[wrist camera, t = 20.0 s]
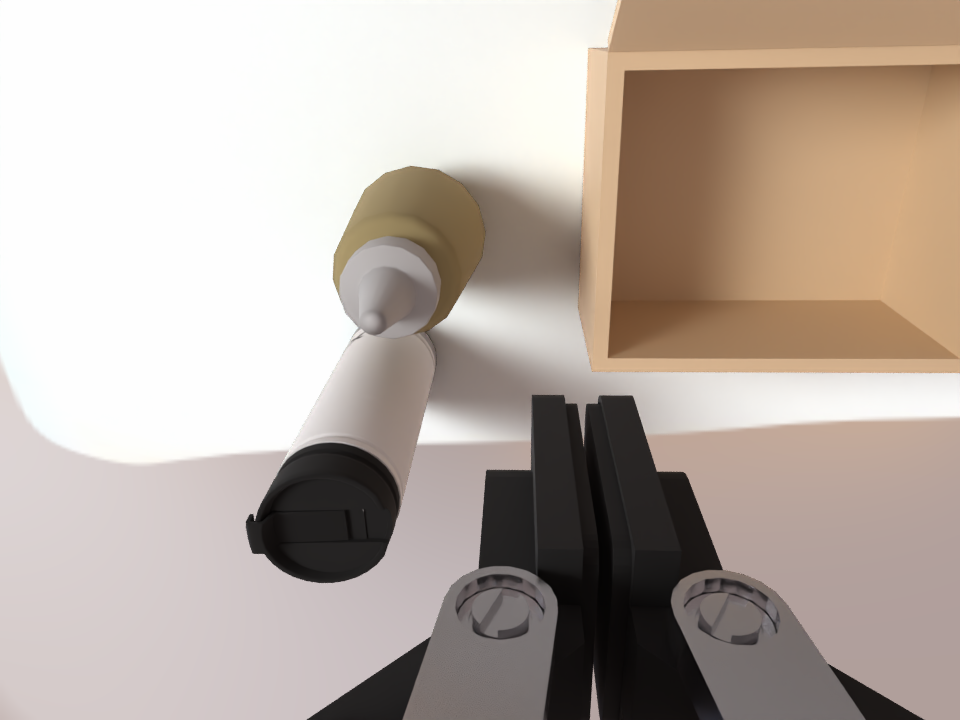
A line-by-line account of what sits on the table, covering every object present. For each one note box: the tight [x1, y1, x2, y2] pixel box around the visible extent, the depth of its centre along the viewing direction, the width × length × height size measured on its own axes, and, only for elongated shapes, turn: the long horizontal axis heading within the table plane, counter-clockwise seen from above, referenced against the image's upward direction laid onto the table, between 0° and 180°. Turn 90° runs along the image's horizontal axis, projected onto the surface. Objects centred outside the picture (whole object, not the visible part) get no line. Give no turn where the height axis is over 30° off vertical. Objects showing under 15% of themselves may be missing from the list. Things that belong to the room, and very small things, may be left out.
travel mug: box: [246, 328, 437, 583], centre depth 41 cm, size 6×7×20 cm
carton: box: [578, 45, 960, 373], centre depth 40 cm, size 16×20×10 cm
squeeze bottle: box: [333, 166, 486, 339], centre depth 38 cm, size 8×8×18 cm
